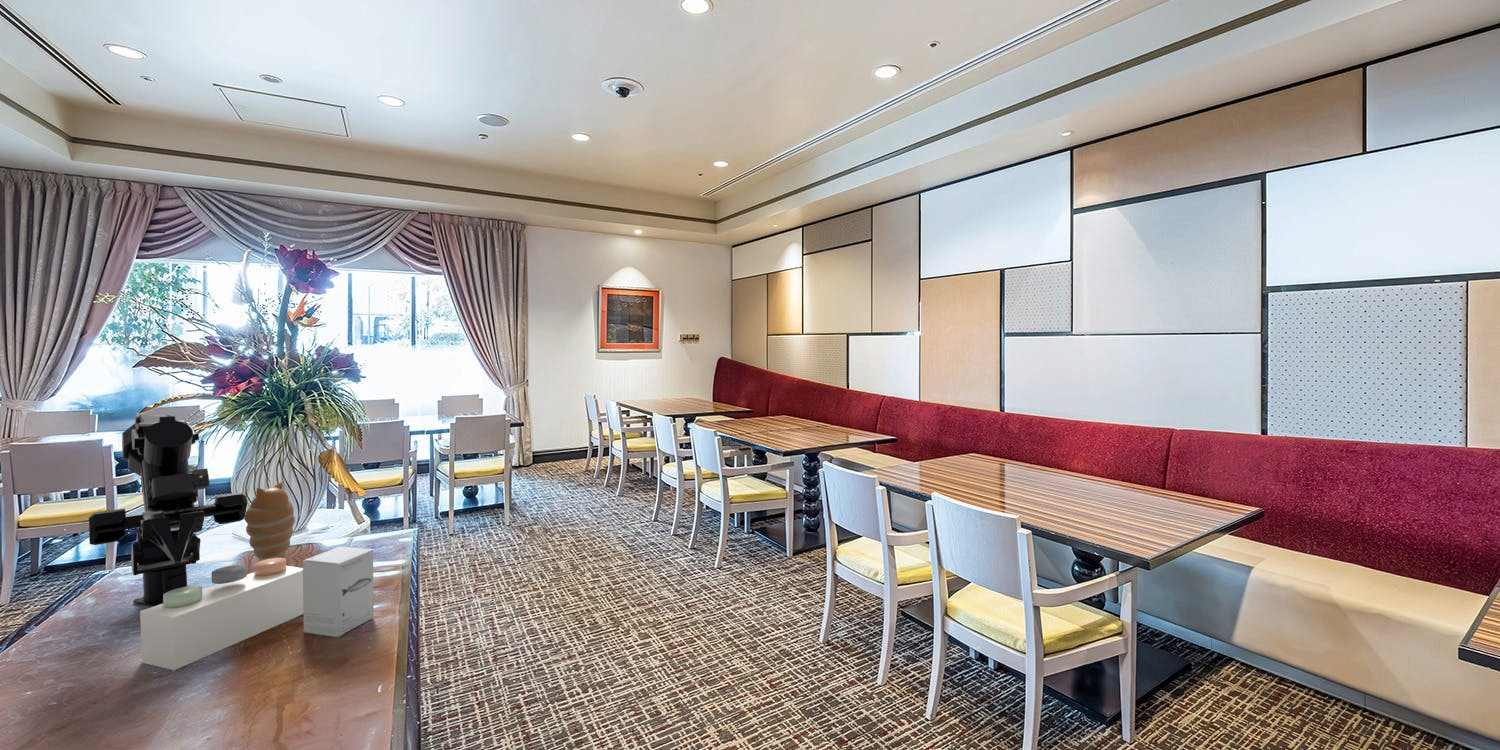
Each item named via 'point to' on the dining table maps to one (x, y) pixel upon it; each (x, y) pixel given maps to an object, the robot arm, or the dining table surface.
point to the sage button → (182, 596)
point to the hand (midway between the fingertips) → (177, 561)
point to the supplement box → (338, 591)
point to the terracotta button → (270, 566)
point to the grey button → (229, 574)
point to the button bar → (220, 618)
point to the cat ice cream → (270, 523)
